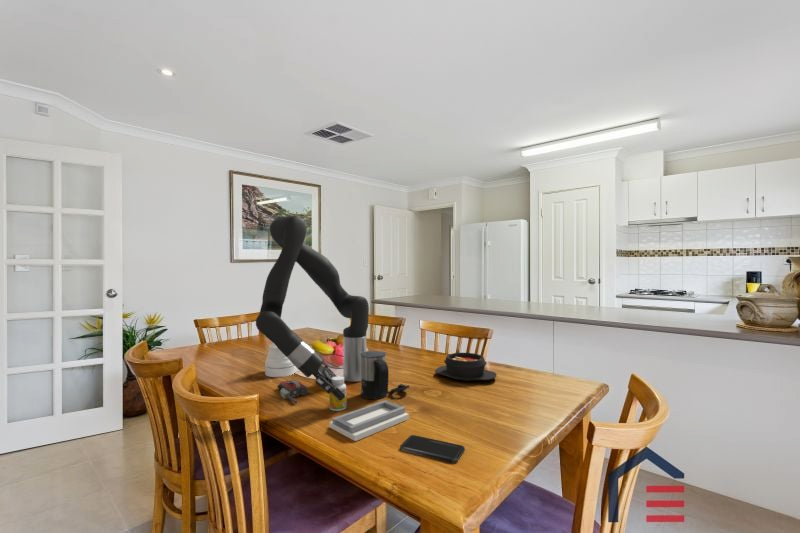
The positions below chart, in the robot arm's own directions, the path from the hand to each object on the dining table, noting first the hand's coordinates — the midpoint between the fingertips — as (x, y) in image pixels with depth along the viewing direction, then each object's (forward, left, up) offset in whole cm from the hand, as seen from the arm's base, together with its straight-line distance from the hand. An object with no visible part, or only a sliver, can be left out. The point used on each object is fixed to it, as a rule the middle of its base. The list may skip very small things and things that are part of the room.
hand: (343, 394), depth 123 cm
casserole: (-55, +8, -5) cm, 55 cm away
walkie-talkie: (+5, -23, -5) cm, 24 cm away
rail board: (+1, +15, -4) cm, 16 cm away
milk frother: (-18, 0, -5) cm, 19 cm away
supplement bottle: (+1, -1, -4) cm, 5 cm away
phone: (0, +38, -5) cm, 38 cm away
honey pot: (-5, -51, -5) cm, 51 cm away
